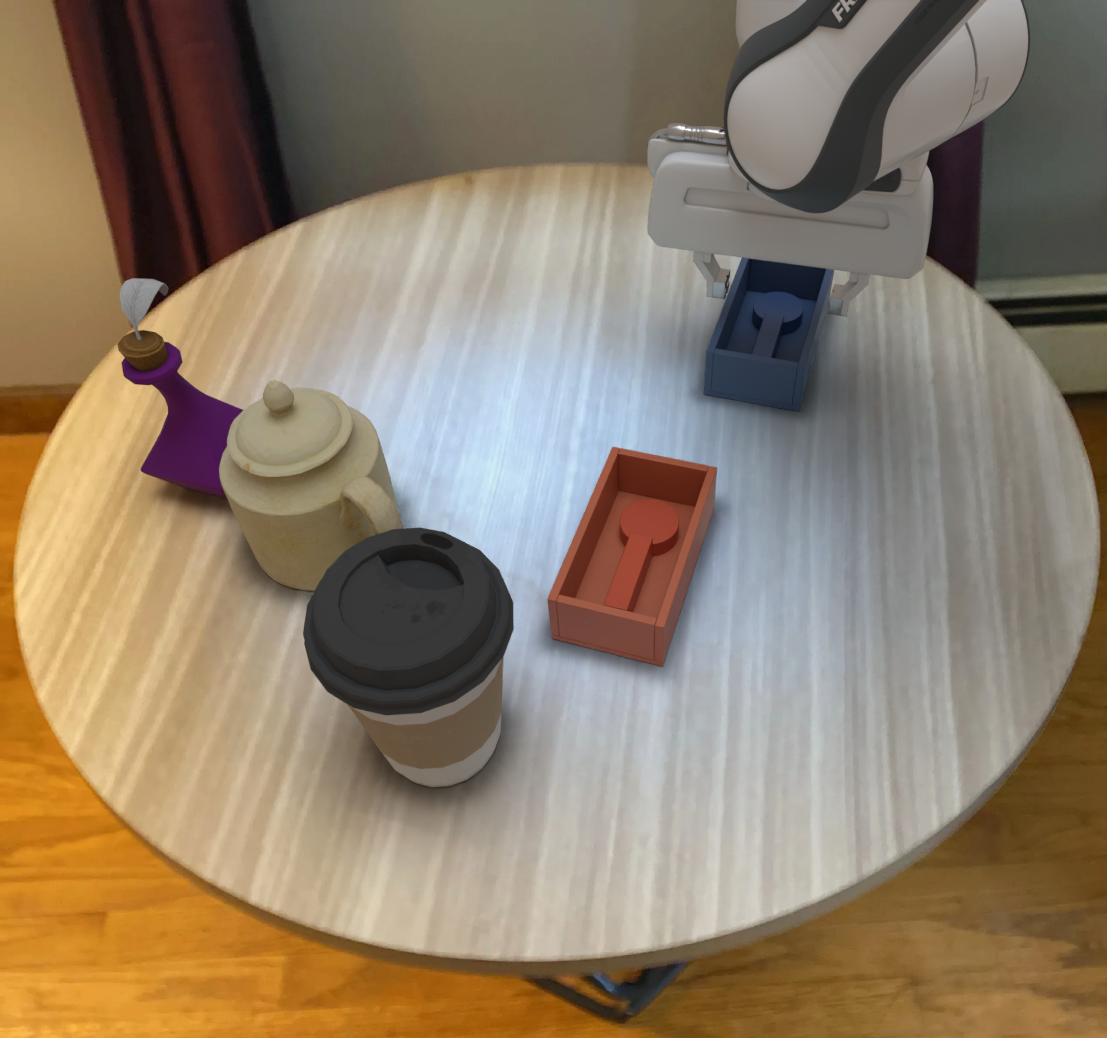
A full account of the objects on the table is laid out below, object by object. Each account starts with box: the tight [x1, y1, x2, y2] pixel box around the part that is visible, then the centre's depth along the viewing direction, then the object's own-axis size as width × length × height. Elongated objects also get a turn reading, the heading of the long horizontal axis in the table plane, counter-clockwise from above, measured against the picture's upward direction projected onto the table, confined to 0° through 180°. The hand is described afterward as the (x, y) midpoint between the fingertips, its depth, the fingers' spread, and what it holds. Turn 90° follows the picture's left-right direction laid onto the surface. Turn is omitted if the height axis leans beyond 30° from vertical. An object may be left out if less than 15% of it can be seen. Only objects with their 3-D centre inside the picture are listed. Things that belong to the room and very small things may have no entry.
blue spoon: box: [752, 292, 804, 358], centre depth 86 cm, size 10×4×2 cm, turn 161°
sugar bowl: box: [219, 379, 404, 592], centre depth 70 cm, size 15×11×15 cm
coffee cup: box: [302, 526, 515, 788], centre depth 59 cm, size 11×11×15 cm
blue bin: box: [703, 257, 835, 412], centre depth 85 cm, size 8×14×4 cm, turn 161°
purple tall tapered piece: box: [117, 277, 244, 499], centre depth 74 cm, size 8×8×18 cm
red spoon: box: [604, 499, 679, 612], centre depth 71 cm, size 10×4×2 cm, turn 161°
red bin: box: [546, 446, 718, 667], centre depth 71 cm, size 8×14×4 cm, turn 161°
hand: (777, 302), depth 80 cm, fingers open, 8 cm apart
